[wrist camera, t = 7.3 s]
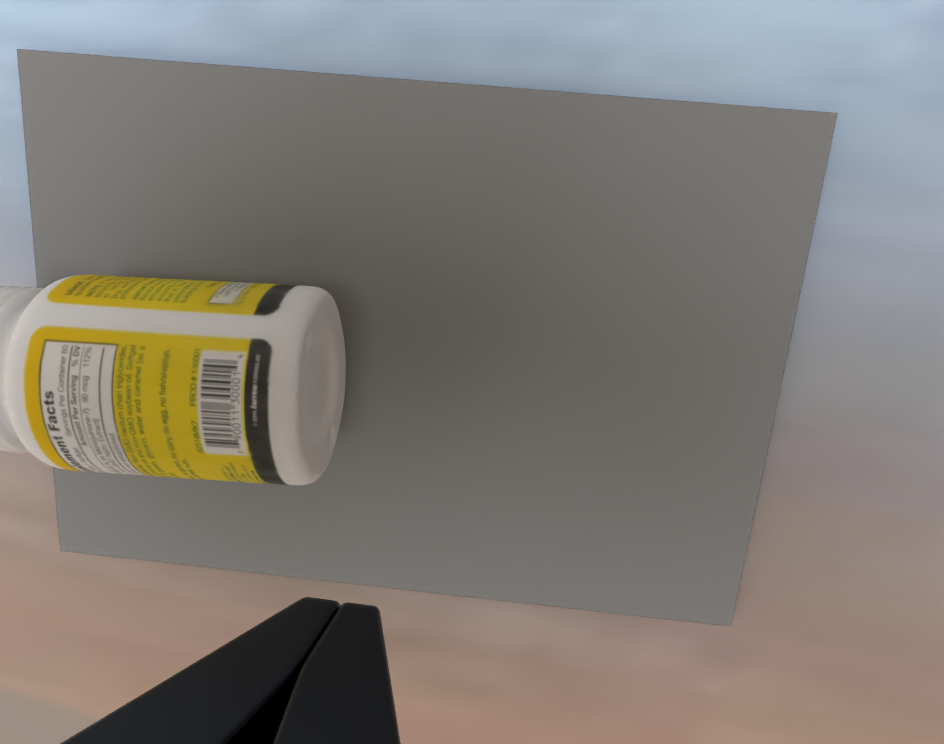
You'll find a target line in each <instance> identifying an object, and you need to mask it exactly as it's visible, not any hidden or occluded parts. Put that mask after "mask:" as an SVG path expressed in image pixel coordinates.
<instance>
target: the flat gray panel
mask: <svg viewBox="0 0 944 744" xmlns="http://www.w3.org/2000/svg"><path fill="white" fill-rule="evenodd" d="M17 57H18V68H19V80H20V91H21V103H22V114H23V126H24V137H25V149H26V160H27V172H28V184H29V195H30V207H31V218H32V230H33V241H34V253H35V264H36V276H37V287H38V288H46V287H47V286H48V285H50V284H52V283H54V282H55V281H58V280H60V279H63V278H66V277H70V276H76V275H105V276H124V277H144V278H162V279H184V280H204V281H224V282H243V283H265V284H280V285H301V286H315V287H320V288H322V289H324V290H326V291H327V292H328V293H329V294H330V295H331V296H332V297H333V299H334V301H335V303H336V305H337V308H338V311H339V315H340V320H341V324H342V330H343V336H344V342H345V355H346V383H345V396H344V404H343V410H342V416H341V422H340V427H339V431H338V435H337V439H336V443H335V447H334V450H333V454H332V457H331V459H330V462H329V464H328V466H327V468H326V470H325V471H324V473H323V474H322V475H321V476H320V477H319V478H318V479H317V480H316V481H314V482H313V483H310V484H307V485H281V484H265V483H246V482H232V481H219V480H203V479H186V478H171V477H158V476H144V475H129V474H115V473H97V472H82V471H72V470H65V469H60V468H56V467H53V472H54V484H55V495H56V507H57V518H58V530H59V541H60V551H66V552H75V553H84V554H93V555H101V556H110V557H119V558H128V559H137V560H146V561H155V562H163V563H172V564H181V565H190V566H199V567H208V568H217V569H225V570H234V571H243V572H252V573H261V574H270V575H279V576H287V577H296V578H305V579H314V580H323V581H332V582H341V583H349V584H358V585H367V586H376V587H385V588H394V589H402V590H411V591H420V592H429V593H438V594H447V595H456V596H464V597H473V598H482V599H491V600H500V601H509V602H518V603H526V604H535V605H544V606H553V607H562V608H571V609H580V610H588V611H597V612H606V613H615V614H624V615H633V616H642V617H650V618H659V619H668V620H677V621H686V622H695V623H704V624H712V625H721V626H730V627H731V624H732V619H733V614H734V609H735V604H736V600H737V595H738V590H739V585H740V580H741V576H742V571H743V566H744V561H745V556H746V552H747V547H748V542H749V537H750V532H751V527H752V523H753V518H754V513H755V508H756V503H757V499H758V494H759V489H760V484H761V479H762V475H763V470H764V465H765V460H766V455H767V450H768V446H769V441H770V436H771V431H772V426H773V422H774V417H775V412H776V407H777V402H778V398H779V393H780V388H781V383H782V378H783V373H784V369H785V364H786V359H787V354H788V349H789V345H790V340H791V335H792V330H793V325H794V321H795V316H796V311H797V306H798V301H799V296H800V292H801V287H802V282H803V277H804V272H805V268H806V263H807V258H808V253H809V248H810V244H811V239H812V234H813V229H814V224H815V219H816V215H817V210H818V205H819V200H820V195H821V191H822V186H823V181H824V176H825V171H826V166H827V162H828V157H829V152H830V147H831V142H832V138H833V133H834V128H835V123H836V118H837V114H838V113H829V112H817V111H804V110H791V109H778V108H765V107H753V106H740V105H727V104H714V103H701V102H688V101H676V100H663V99H650V98H637V97H624V96H612V95H599V94H586V93H573V92H560V91H548V90H535V89H522V88H509V87H496V86H484V85H471V84H458V83H445V82H432V81H420V80H407V79H394V78H381V77H368V76H355V75H343V74H330V73H317V72H304V71H291V70H279V69H266V68H253V67H240V66H227V65H215V64H202V63H189V62H176V61H163V60H151V59H138V58H125V57H112V56H99V55H87V54H74V53H61V52H48V51H35V50H23V49H17Z"/></svg>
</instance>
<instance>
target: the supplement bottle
mask: <svg viewBox="0 0 944 744" xmlns="http://www.w3.org/2000/svg"><path fill="white" fill-rule="evenodd" d="M345 383H346V355H345V342H344V336H343V330H342V324H341V320H340V315H339V311H338V308H337V305H336V303H335V301H334V299H333V297H332V296H331V295H330V294H329V293H328V292H327V291H326V290H324V289H322V288H320V287H315V286H301V285H280V284H265V283H243V282H224V281H204V280H184V279H162V278H144V277H124V276H105V275H76V276H70V277H66V278H63V279H60V280H58V281H55V282H54V283H52V284H50V285H48V286H47V287H46V288H32V287H6V286H0V450H1V451H8V452H13V453H26V452H30V453H31V454H32V455H34V456H35V457H36V458H38V459H39V460H41V461H42V462H44V463H46V464H48V465H50V466H53V467H56V468H60V469H65V470H72V471H82V472H97V473H115V474H129V475H144V476H158V477H171V478H186V479H203V480H219V481H232V482H246V483H265V484H281V485H307V484H310V483H313V482H314V481H316V480H317V479H318V478H319V477H320V476H321V475H322V474H323V473H324V471H325V470H326V468H327V466H328V464H329V462H330V459H331V457H332V454H333V450H334V447H335V443H336V439H337V435H338V431H339V427H340V422H341V416H342V410H343V404H344V396H345Z"/></svg>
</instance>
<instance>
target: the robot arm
mask: <svg viewBox="0 0 944 744" xmlns="http://www.w3.org/2000/svg"><path fill="white" fill-rule="evenodd" d="M60 744H401V743H400V737H399V731H398V724H397V718H396V712H395V705H394V699H393V693H392V686H391V680H390V674H389V667H388V661H387V655H386V648H385V642H384V636H383V629H382V623H381V617H380V611H379V609H378V608H377V607H375V606H370V605H362V604H355V603H344V604H342V605H341V606H340V604H339V603H338V602H337V601H332V600H325V599H318V598H310V597H305V598H302V599H300V600H298V601H297V602H295V603H293V604H292V605H290V606H288V607H287V608H285V609H283V610H282V611H280V612H278V613H277V614H275V615H273V616H272V617H270V618H268V619H267V620H265V621H263V622H262V623H260V624H258V625H257V626H255V627H253V628H252V629H250V630H248V631H247V632H245V633H244V634H242V635H240V636H239V637H237V638H235V639H234V640H232V641H230V642H229V643H227V644H225V645H224V646H222V647H220V648H219V649H217V650H215V651H214V652H212V653H210V654H209V655H207V656H205V657H204V658H202V659H200V660H199V661H197V662H195V663H194V664H192V665H190V666H189V667H187V668H185V669H184V670H182V671H180V672H179V673H177V674H175V675H174V676H172V677H170V678H169V679H167V680H165V681H164V682H162V683H160V684H159V685H157V686H155V687H154V688H152V689H150V690H149V691H147V692H145V693H144V694H142V695H140V696H139V697H137V698H135V699H134V700H132V701H130V702H129V703H127V704H125V705H124V706H122V707H120V708H119V709H117V710H115V711H114V712H112V713H110V714H109V715H107V716H105V717H104V718H102V719H100V720H99V721H97V722H95V723H94V724H92V725H90V726H89V727H87V728H85V729H84V730H82V731H80V732H79V733H77V734H76V735H74V736H72V737H71V738H69V739H67V740H65V741H64V742H62V743H60Z"/></svg>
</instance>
